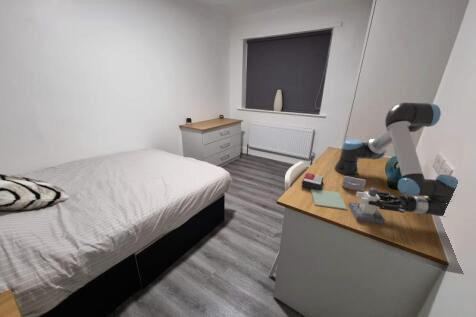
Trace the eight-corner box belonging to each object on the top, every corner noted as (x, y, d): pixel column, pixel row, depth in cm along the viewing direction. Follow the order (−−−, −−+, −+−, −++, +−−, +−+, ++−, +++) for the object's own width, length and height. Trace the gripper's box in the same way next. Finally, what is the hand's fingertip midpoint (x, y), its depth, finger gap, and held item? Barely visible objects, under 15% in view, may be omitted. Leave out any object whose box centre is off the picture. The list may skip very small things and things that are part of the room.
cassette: (341, 187, 124) (344, 176, 121) (341, 186, 126) (344, 175, 123) (363, 192, 120) (366, 181, 117) (362, 190, 122) (366, 179, 119)
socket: (348, 205, 106) (349, 201, 105) (372, 209, 104) (374, 205, 103) (356, 220, 95) (357, 216, 94) (383, 224, 93) (385, 220, 92)
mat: (310, 189, 120) (310, 189, 120) (338, 193, 117) (338, 192, 117) (314, 205, 106) (315, 204, 105) (346, 209, 103) (347, 208, 103)
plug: (358, 209, 102) (366, 185, 97) (368, 210, 101) (377, 187, 96) (361, 215, 97) (370, 191, 92) (372, 216, 97) (382, 192, 91)
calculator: (323, 176, 130) (321, 184, 117) (322, 182, 131) (319, 190, 118) (306, 172, 134) (302, 179, 122) (305, 178, 136) (301, 185, 123)
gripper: (421, 223, 86) (363, 215, 90) (398, 199, 103) (350, 193, 107) (428, 209, 83) (368, 201, 87) (403, 187, 100) (354, 181, 104)
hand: (358, 197), depth 97 cm, fingers closed on plug, 5 cm apart
